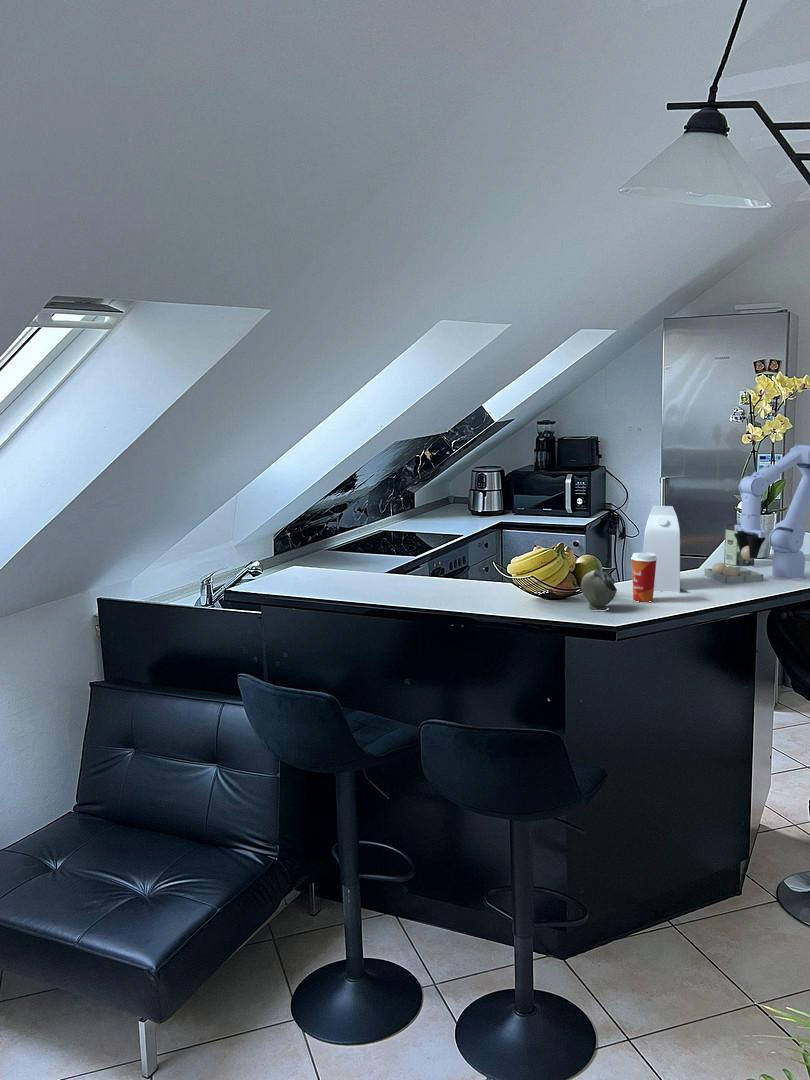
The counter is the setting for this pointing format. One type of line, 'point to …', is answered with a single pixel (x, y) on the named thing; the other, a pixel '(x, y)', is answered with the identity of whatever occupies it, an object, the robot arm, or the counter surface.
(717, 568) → the egg
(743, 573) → the carton
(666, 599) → the counter surface
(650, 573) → the paper cup
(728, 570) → the egg
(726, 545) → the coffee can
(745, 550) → the egg
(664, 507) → the milk
